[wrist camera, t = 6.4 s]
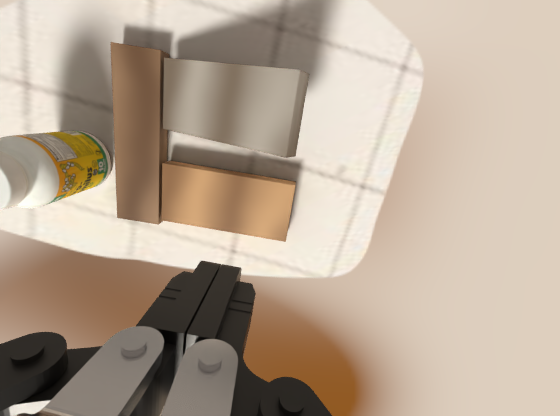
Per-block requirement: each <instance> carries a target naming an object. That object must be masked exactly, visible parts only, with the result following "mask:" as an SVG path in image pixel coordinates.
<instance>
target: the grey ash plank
mask: <svg viewBox="0 0 560 416" xmlns="http://www.w3.org/2000/svg"><path fill="white" fill-rule="evenodd" d="M308 78H309V74H308V73H306V72H304V71H302V70H298V69H286V68H275V67H264V66H253V65H241V64H230V63H219V62H207V61H196V60H185V59H173V58H164V96H163V129H166V130H171V131H175V132H179V133H183V134H188V135H192V136H196V137H200V138H205V139H209V140H213V141H217V142H222V143H226V144H230V145H234V146H239V147H243V148H247V149H252V150H256V151H260V152H264V153H269V154H273V155H277V156H281V157H286V158H287V157H294V156H295V155H296V149H297V144H298V138H299V132H300V126H301V120H302V114H303V108H304V102H305V96H306V90H307V84H308Z"/></svg>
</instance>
